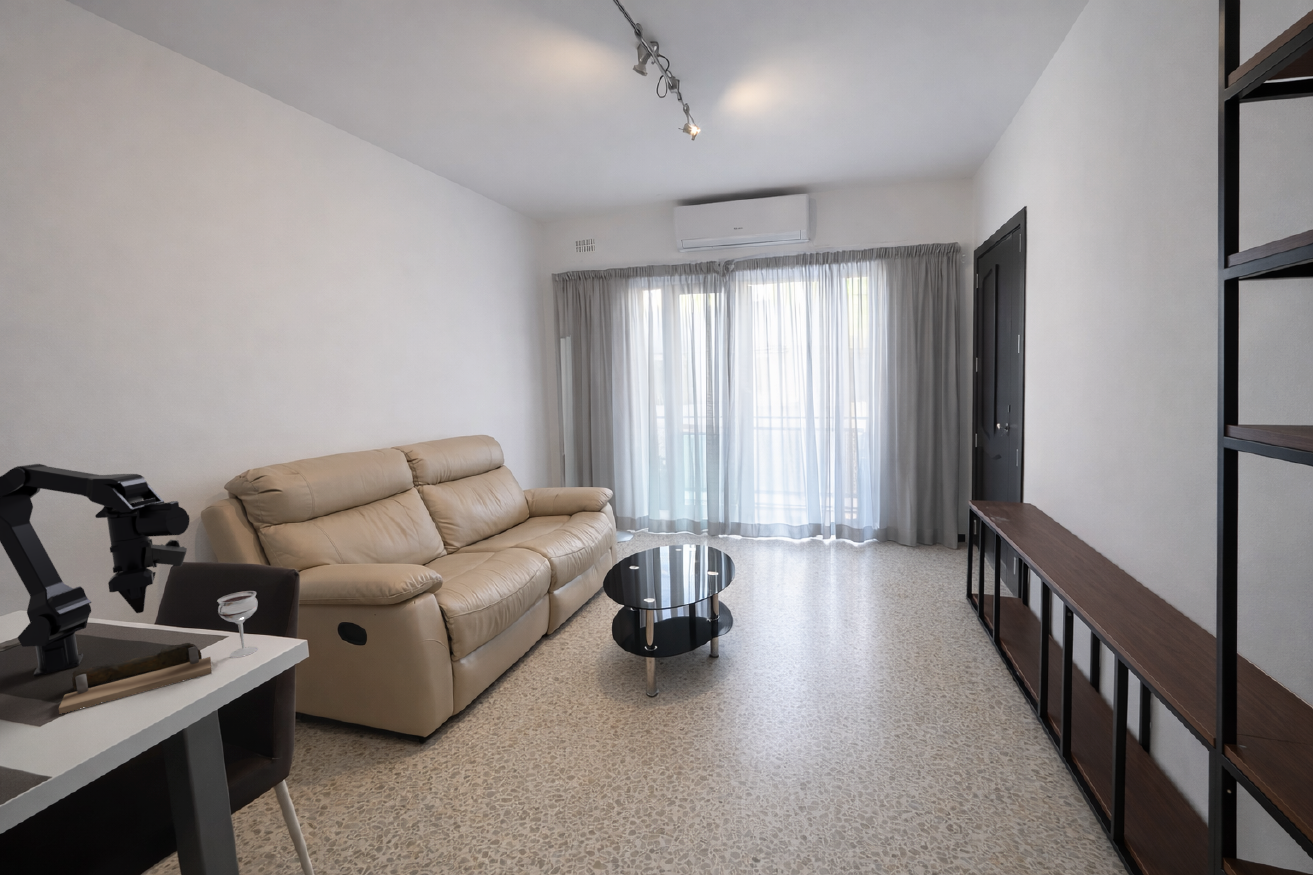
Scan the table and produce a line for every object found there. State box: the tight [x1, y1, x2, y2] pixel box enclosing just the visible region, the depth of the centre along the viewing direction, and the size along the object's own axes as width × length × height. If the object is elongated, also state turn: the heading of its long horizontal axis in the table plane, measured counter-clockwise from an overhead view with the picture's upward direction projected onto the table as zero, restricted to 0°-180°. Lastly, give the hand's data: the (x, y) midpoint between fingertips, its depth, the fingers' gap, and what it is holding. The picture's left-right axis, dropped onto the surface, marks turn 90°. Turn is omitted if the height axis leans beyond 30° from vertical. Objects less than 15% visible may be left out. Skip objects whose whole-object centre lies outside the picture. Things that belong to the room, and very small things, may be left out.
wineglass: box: [216, 590, 259, 659], centre depth 122 cm, size 7×7×12 cm
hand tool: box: [71, 642, 203, 692], centre depth 114 cm, size 19×4×5 cm, turn 118°
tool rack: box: [58, 645, 212, 715], centre depth 109 cm, size 6×21×4 cm, turn 128°
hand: (140, 612), depth 118 cm, fingers closed
